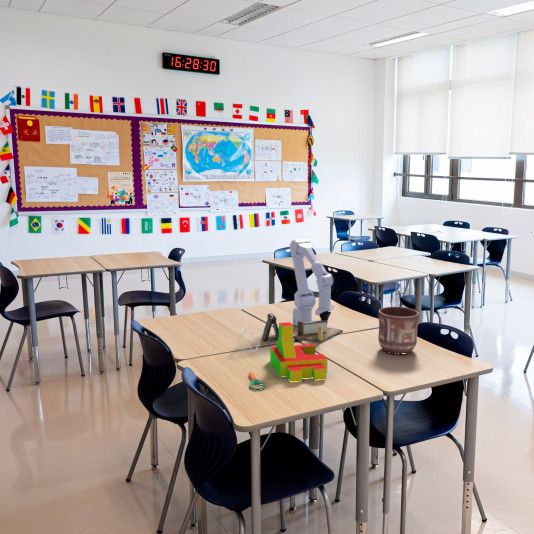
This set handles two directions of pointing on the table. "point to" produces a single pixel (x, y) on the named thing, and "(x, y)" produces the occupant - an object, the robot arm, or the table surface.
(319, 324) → the panel
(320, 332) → the post
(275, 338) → the phone stand
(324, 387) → the table surface
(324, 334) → the brown wooden board
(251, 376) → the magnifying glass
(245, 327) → the geometric polyhedron
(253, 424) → the table surface
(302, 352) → the building blocks toy
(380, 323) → the pottery
